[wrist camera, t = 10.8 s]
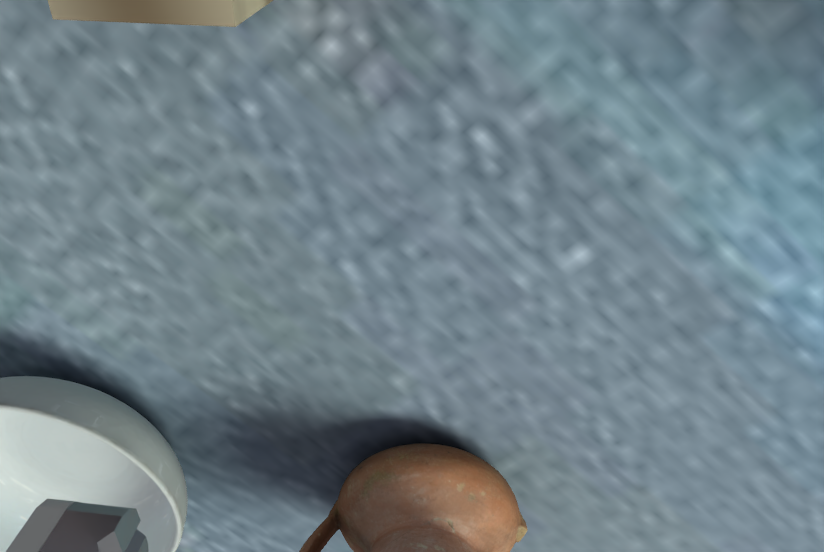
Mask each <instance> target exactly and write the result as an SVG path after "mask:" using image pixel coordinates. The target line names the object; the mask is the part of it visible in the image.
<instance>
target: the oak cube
mask: <svg viewBox="0 0 824 552" xmlns="http://www.w3.org/2000/svg"><path fill="white" fill-rule="evenodd" d="M272 1H273V0H48V3H49V6H50V10H51V14H52V18H53V19H57V20H81V21H106V22H130V23H154V24H179V25H203V26H228V27H236V26H238V25H239V24H240V23H242V22H243V21H245V20H246V19H247V18H249V17H250V16H252V15H253V14H255V13H256V12H257V11H259V10H260V9H262V8H263V7H264V6H266V5H267V4H269V3H270V2H272Z"/></svg>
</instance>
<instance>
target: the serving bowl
mask: <svg viewBox="0 0 824 552" xmlns="http://www.w3.org/2000/svg"><path fill="white" fill-rule="evenodd" d="M46 499H57V500H67V501H77V502H81V503H90V504H99V505H108V506H117V507H126V508H135V509H137V512H138V515H139V517H140V520H141V521H140V523H139V525H138V527H137V529H138V530H139V531H140V532H141V533H143V534H144V535H145V536H146V538H147V542H148V552H175V551H176V549H177V548H178V546H179V543H180V540H181V538H182V533H183V529H184V524H185V520H186V514H187V488H186V482H185V478H184V474H183V471H182V468H181V465H180V463H179V460H178V459H177V457H176V455H175V453H174V451H173V449H172V448H171V446H170V445H169V443H168V442H167V441H166V439H165V438H164V437H163V436H162V434H161V433H160V432H159V431H158V430H157V429H156V428H155V427H154V426H153V425H152V424H151V423H150V422H149V421H148V420H147V419H145V418H144V417H143V416H142V415H141V414H139V413H138V412H136V411H135V410H134V409H132V408H131V407H129V406H128V405H126V404H125V403H123V402H121V401H119V400H117V399H116V398H114V397H112V396H110V395H108V394H106V393H103V392H101V391H99V390H96V389H93V388H91V387H88V386H85V385H81V384H78V383H75V382H70V381H66V380H61V379H56V378H48V377H37V376H12V377H3V378H0V552H6V550H7V549H8V547H9V546H10V545H11V543H12V542H13V540H14V539H15V537H16V536H17V535H18V533H19V532H20V530H21V529H22V527H23V526H24V524H25V523H26V522H27V520H28V519H29V517H30V516H31V514H32V513H33V512H34V510H35V509H36V507H38V506H39V505H40V504H41V503H42V502H44V501H45V500H46Z"/></svg>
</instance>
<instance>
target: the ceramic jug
mask: <svg viewBox="0 0 824 552" xmlns="http://www.w3.org/2000/svg"><path fill="white" fill-rule="evenodd" d="M338 529H340V530H341V532H342V534H343V536H344V538H345V540H346V542H347V543H348V545H349V546H350V547H351V549H352V550H353V551H354V552H510V550H511V549H512V547H513V545H514V544H515V543H516V542H519V541H520V540H521V539H522V537H523V536H524V535H525V533H526V532H527V526H526V523H525V521H524V519H523V518H522V515H521V514H520V511H519V508H518V504H517V501H516V498H515V495H514V493H513V491H512V489H511V488H510V486H509V484H508V483H507V481H506V480H505V479H504V478H503V476H502V475H501V474H500V473H499V472H498V471H497V470H496V469H495V468H493V467H492V466H491V465H490V464H488V463H487V462H485V461H484V460H482V459H481V458H479V457H477V456H475V455H473V454H471V453H469V452H466V451H464V450H461V449H458V448H454V447H450V446H445V445H438V444H408V445H401V446H396V447H392V448H389V449H386V450H383V451H380V452H378V453H376V454H374V455H372V456H370V457H368V458H367V459H365V460H364V461H362V462H361V463H360V464H359V465H358V466H357V467H355V468H354V469H353V471H352V472H351V473H350V474H349V475H348V477H347V478H346V480H345V482H344V484H343V486H342V488H341V491H340V494H339V497H338V500H337V501H336V503H335V504H334V506H333V508H332V510H331V511H330V513H329V516H328V517H327V518H326V519H325V520H324V521H323V523H322V524H320V526H319V527H318V528H317V529H316V530H315V531H314V532H313V534H312V535H311V536H310V537H309V538H308V540H307V541H306V542H305V544H304V545H303V547H302V548H301V550H300V551H299V552H321V550H322V549H323V548H324V546H325V545H326V544H327V542H328V541H329V540H330V538H331V537H332V536H333V535H334V534H335V533H336V531H337V530H338Z"/></svg>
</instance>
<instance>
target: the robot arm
mask: <svg viewBox="0 0 824 552" xmlns="http://www.w3.org/2000/svg"><path fill="white" fill-rule="evenodd" d="M140 521H141V520H140V517H139V515H138V512H137V509H135V508H126V507H117V506H108V505H99V504H90V503H81V502H77V501H67V500H57V499H46V500H45V501H44V502H42V503H41V504H40V505H39V506H38V507H36V509H35V510H34V512H33V513H32V514H31V516H30V517H29V519H28V520H27V522H26V523H25V524H24V526H23V527H22V529H21V530H20V532H19V533H18V535H17V536H16V537H15V539H14V540H13V542H12V543H11V545H10V546H9V547H8V549H7V550H6V552H148V542H147V538H146V536H145V535H144V534H143V533H141V532H140V531H139V530H138V529H137V527H138V525H139V523H140Z"/></svg>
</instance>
